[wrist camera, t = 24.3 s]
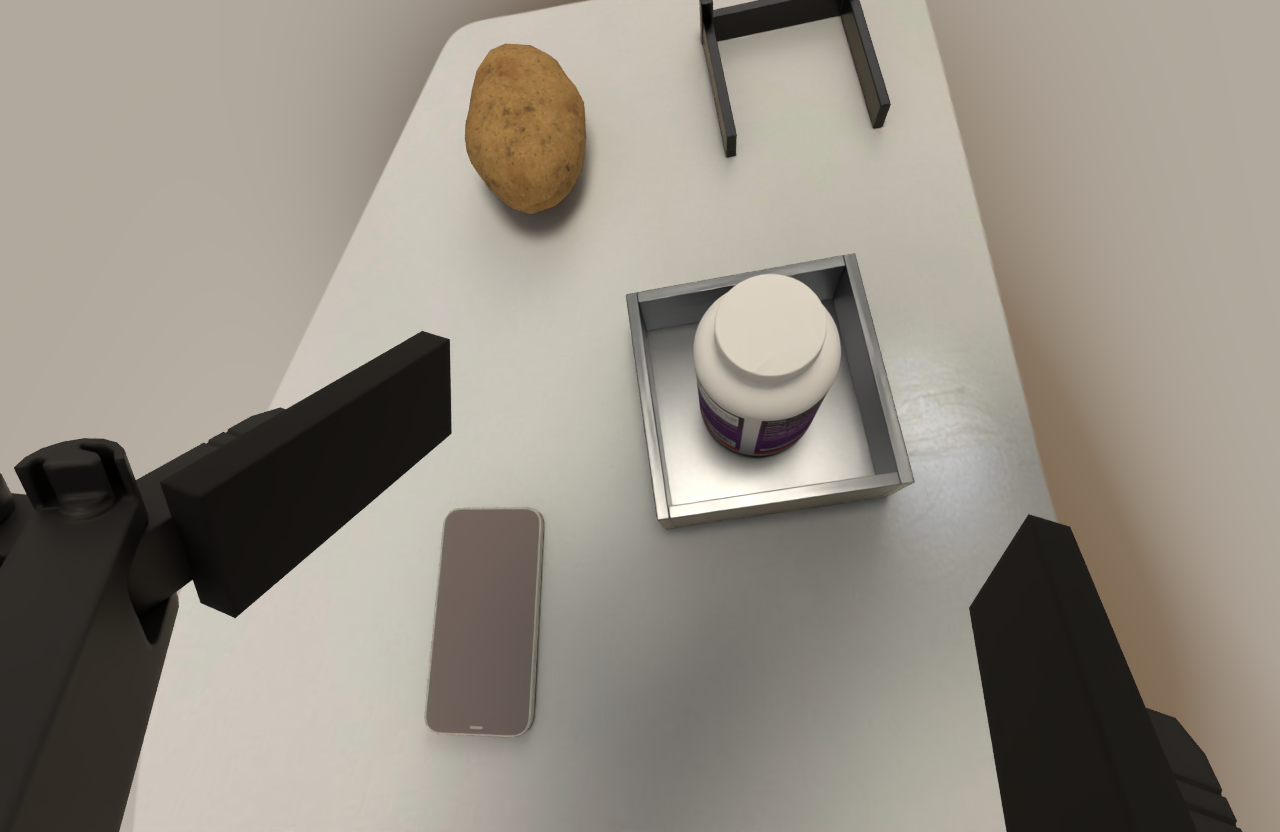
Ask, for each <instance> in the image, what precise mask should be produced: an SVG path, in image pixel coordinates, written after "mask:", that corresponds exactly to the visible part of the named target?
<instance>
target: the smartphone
mask: <svg viewBox="0 0 1280 832" xmlns="http://www.w3.org/2000/svg"><path fill="white" fill-rule="evenodd" d="M543 531H544V521H543V518H542V516H541V514H540V513H539V512H538V511H536V510H534V509H531V508H457V509H454V510H452V511H450V512H449V513H448V514H447V515H446V517H445V520H444V523H443V533H442V543H441V553H440V563H439V574H438V584H437V594H436V604H435V615H434V625H433V635H432V645H431V655H430V666H429V676H428V686H427V696H426V706H425V723H426V725H427V727H428V729H429V730H430V731H432V732H433V733H436V734H446V735H471V736H495V737H517V736H520V735H521V734H523V733H524V732H526V731H527V730H528V729H529V728H530V726H531V724H532V722H533V717H534V700H535V681H536V663H537V644H538V625H539V606H540V588H541V569H542V550H543Z"/></svg>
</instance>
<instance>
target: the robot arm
mask: <svg viewBox="0 0 1280 832" xmlns="http://www.w3.org/2000/svg"><path fill="white" fill-rule="evenodd" d="M450 434H451V379H450V339H447V338H444V337H440V336H437V335H434V334H430V333H427V332H424V331H421V332H420V333H418V334H416V335H414V336H413V337H411V338H409V339H408V340H406V341H404V342H402V343H401V344H399V345H397V346H395V347H394V348H392V349H390V350H388V351H387V352H385V353H383V354H381V355H380V356H378V357H376V358H374V359H373V360H371V361H369V362H368V363H366V364H364V365H362V366H361V367H359V368H357V369H355V370H354V371H352V372H350V373H348V374H347V375H345V376H343V377H341V378H340V379H338V380H336V381H334V382H333V383H331V384H329V385H327V386H326V387H324V388H322V389H321V390H319V391H317V392H315V393H314V394H312V395H310V396H308V397H307V398H305V399H303V400H301V401H300V402H298V403H296V404H294V405H293V406H291V407H289V408H287V409H283V408H277V409H274V410H271V411H267V412H264V413H261V414H257V415H254V416H251V417H249V418H247V419H246V420H244V421H242V422H240V423H238V424H237V425H235V426H233V427H231V428H229V429H228V432H226V433H225V432H222V433H221V434H219V435H217V436H215V437H213V438H212V439H210V440H209V442H208V443H207V444H206V443H202V444H201V445H199V446H197V447H195V448H193V449H191V450H190V451H188V452H186V453H184V454H182V455H181V456H179V457H177V458H175V459H174V460H172V461H170V462H168V463H166V464H164V465H163V466H161V467H159V468H157V469H155V470H154V471H152V472H150V473H148V474H146V475H145V476H143V477H141V478H139V479H137V480H135V477H134V475H133V472H132V469H131V467H130V464H129V461H128V458H127V456H126V453H125V450H124V449H123V448H122V447H121V446H120V445H119V444H118V443H117V442H113V441H109V440H106V439H88V438H87V439H86V438H84V439H78V440H71V441H65V442H61V443H58V444H54V445H51V446H48V447H45V448H42V449H40V450H38V451H36V452H35V453H32V454H30V455H29V456H27V457H25V458H24V459H23V460H22V461H21V462H20V463H18V464H17V465H16V466H15V467H14V469H15V471H16V473H17V475H18V477H19V479H20V481H21V483H22V486H23V488H24V489H25V492H26V494H27V495H24V494H14V493H11V492H10V490H9V488H8V487H7V484H6V482H5V480H4V478H3V476H2V474H0V832H119V830H120V826H121V823H122V819H123V815H124V811H125V807H126V804H127V800H128V796H129V793H130V789H131V785H132V781H133V777H134V774H135V770H136V766H137V762H138V759H139V755H140V751H141V747H142V744H143V740H144V736H145V732H146V729H147V725H148V721H149V717H150V713H151V710H152V706H153V702H154V698H155V695H156V691H157V687H158V683H159V680H160V676H161V672H162V668H163V665H164V661H165V657H166V653H167V649H168V646H169V642H170V638H171V634H172V631H173V627H174V623H175V619H176V616H177V612H178V608H179V602H178V595H177V591H178V590H179V589H181V588H182V587H183V586H185V585H186V584H187V583H189V582H190V581H191V580H193V582H194V585H195V588H196V591H197V594H198V596H199V599H200V602H201V603H202V604H204V605H207V606H209V607H211V608H214V609H216V610H218V611H220V612H223V613H225V614H227V615H229V616H232V617H234V618H236V617H237V616H238V615H240V614H241V613H242V612H243V611H244V610H245V609H247V608H248V607H249V606H250V605H251V604H252V603H254V602H255V601H256V600H257V599H258V598H259V597H261V596H262V595H263V594H264V593H265V592H266V591H268V590H269V589H270V588H271V587H272V586H273V585H275V584H276V583H277V582H278V581H279V580H280V579H282V578H283V577H284V576H285V575H286V574H288V573H289V572H290V571H291V570H292V569H293V568H295V567H296V566H297V565H298V564H299V563H300V562H302V561H303V560H304V559H305V558H306V557H307V556H309V555H310V554H311V553H312V552H313V551H314V550H316V549H317V548H318V547H319V546H320V545H321V544H323V543H324V542H325V541H326V540H327V539H329V538H330V537H331V536H332V535H333V534H334V533H336V532H337V531H338V530H339V529H340V528H341V527H343V526H344V525H345V524H346V523H347V522H348V521H350V520H351V519H352V518H353V517H354V516H355V515H357V514H358V513H359V512H360V511H361V510H362V509H364V508H365V507H366V506H367V505H368V504H369V503H371V502H372V501H373V500H374V499H375V498H377V497H378V496H379V495H380V494H381V493H382V492H384V491H385V490H386V489H387V488H388V487H389V486H391V485H392V484H393V483H394V482H395V481H396V480H398V479H399V478H400V477H401V476H402V475H403V474H405V473H406V472H407V471H408V470H409V469H410V468H412V467H413V466H414V465H415V464H416V463H418V462H419V461H420V460H421V459H422V458H423V457H425V456H426V455H427V454H428V453H429V452H430V451H432V450H433V449H434V448H435V447H436V446H437V445H439V444H440V443H441V442H442V441H443V440H444V439H446V438H447V437H448V436H449V435H450ZM969 610H970V616H971V622H972V628H973V634H974V640H975V646H976V652H977V658H978V664H979V670H980V676H981V681H982V687H983V693H984V699H985V705H986V711H987V717H988V723H989V729H990V735H991V741H992V747H993V753H994V759H995V765H996V771H997V777H998V783H999V789H1000V795H1001V801H1002V807H1003V813H1004V819H1005V825H1006V831H1007V832H1242V831H1241V829H1240V828H1237V827H1236V822H1237V820H1236V818H1235V816H1234V814H1233V812H1232V810H1231V807H1230V805H1229V803H1228V801H1227V799H1226V798H1225V797H1222V795H1221V792H1222V789H1221V786H1220V784H1219V782H1218V780H1217V778H1216V776H1215V774H1214V772H1213V770H1212V768H1211V765H1210V764H1209V761H1208V759H1207V757H1206V755H1205V753H1204V752H1203V751H1202V750H1201V749H1200V747H1199V746H1198V745H1197V744H1196V743H1195V741H1194V740H1193V739H1192V738H1191V736H1190V735H1189V734H1188V733H1187V732H1186V730H1185V729H1184V728H1183V727H1182V725H1181V724H1180V723H1179V722H1178V721H1177V719H1176V718H1173V717H1171V716H1168V715H1165V714H1162V713H1160V712H1157V711H1154V710H1151V709H1148V708H1145V705H1144V703H1143V700H1142V698H1141V696H1140V693H1139V691H1138V689H1137V686H1136V684H1135V681H1134V679H1133V676H1132V674H1131V672H1130V669H1129V667H1128V664H1127V662H1126V660H1125V657H1124V655H1123V652H1122V650H1121V648H1120V645H1119V643H1118V641H1117V638H1116V636H1115V633H1114V631H1113V628H1112V626H1111V624H1110V622H1109V619H1108V616H1107V614H1106V612H1105V609H1104V607H1103V604H1102V602H1101V600H1100V597H1099V595H1098V593H1097V590H1096V588H1095V586H1094V583H1093V581H1092V578H1091V576H1090V573H1089V571H1088V569H1087V566H1086V564H1085V561H1084V559H1083V557H1082V554H1081V552H1080V550H1079V547H1078V545H1077V542H1076V540H1075V537H1074V535H1073V533H1072V530H1071V528H1070V527H1069V526H1066V525H1062V524H1059V523H1056V522H1052V521H1049V520H1046V519H1042V518H1039V517H1036V516H1033V515H1029V514H1028V516H1027V518H1026V519H1025V521H1024V522H1023V524H1022V525H1021V527H1020V529H1019V530H1018V532H1017V533H1016V535H1015V536H1014V538H1013V540H1012V541H1011V543H1010V544H1009V546H1008V547H1007V549H1006V551H1005V552H1004V554H1003V555H1002V557H1001V558H1000V560H999V562H998V563H997V565H996V566H995V568H994V569H993V571H992V573H991V574H990V576H989V577H988V579H987V581H986V582H985V584H984V585H983V587H982V588H981V590H980V592H979V593H978V595H977V596H976V598H975V599H974V601H973V603H972V604H971V606H970V607H969Z"/></svg>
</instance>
